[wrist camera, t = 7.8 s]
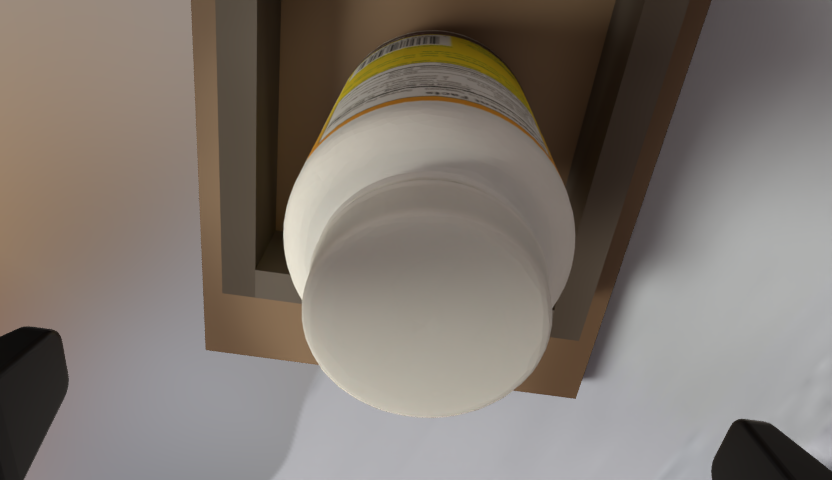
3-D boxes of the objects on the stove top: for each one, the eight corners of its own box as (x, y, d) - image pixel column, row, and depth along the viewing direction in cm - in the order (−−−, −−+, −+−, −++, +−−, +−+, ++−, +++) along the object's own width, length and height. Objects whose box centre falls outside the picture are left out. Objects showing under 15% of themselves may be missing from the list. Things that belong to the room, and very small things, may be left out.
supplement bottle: (457, 235, 21) (468, 499, 12) (307, 147, 19) (189, 365, 10) (566, 94, 18) (687, 287, 9) (404, -18, 17) (358, 79, 8)
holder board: (781, -257, 15) (867, -296, 12) (571, 380, 25) (588, 450, 22) (192, -350, 15) (123, -415, 11) (214, 333, 24) (180, 397, 21)
